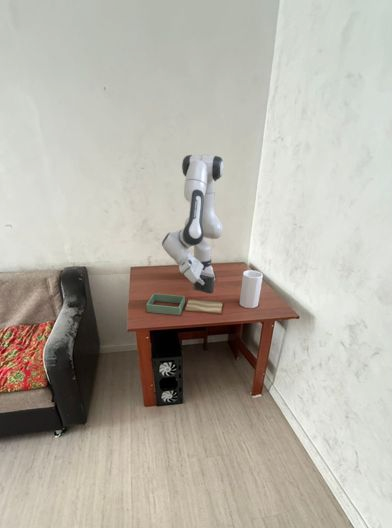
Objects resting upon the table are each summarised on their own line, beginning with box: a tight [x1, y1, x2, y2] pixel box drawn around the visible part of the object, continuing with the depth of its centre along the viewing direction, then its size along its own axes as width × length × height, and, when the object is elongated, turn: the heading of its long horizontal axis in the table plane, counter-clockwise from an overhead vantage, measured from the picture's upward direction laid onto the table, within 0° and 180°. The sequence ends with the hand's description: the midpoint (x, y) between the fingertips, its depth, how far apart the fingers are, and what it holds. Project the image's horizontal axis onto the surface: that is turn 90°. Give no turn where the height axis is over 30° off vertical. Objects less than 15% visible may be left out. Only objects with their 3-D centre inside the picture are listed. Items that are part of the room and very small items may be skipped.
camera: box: [192, 272, 215, 295], centre depth 157 cm, size 11×6×10 cm, turn 64°
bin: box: [145, 292, 186, 316], centre depth 164 cm, size 14×18×4 cm
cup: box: [239, 269, 264, 309], centre depth 165 cm, size 11×11×18 cm
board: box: [184, 299, 224, 315], centre depth 166 cm, size 12×20×1 cm, turn 81°
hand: (204, 281), depth 156 cm, fingers closed on camera, 6 cm apart
